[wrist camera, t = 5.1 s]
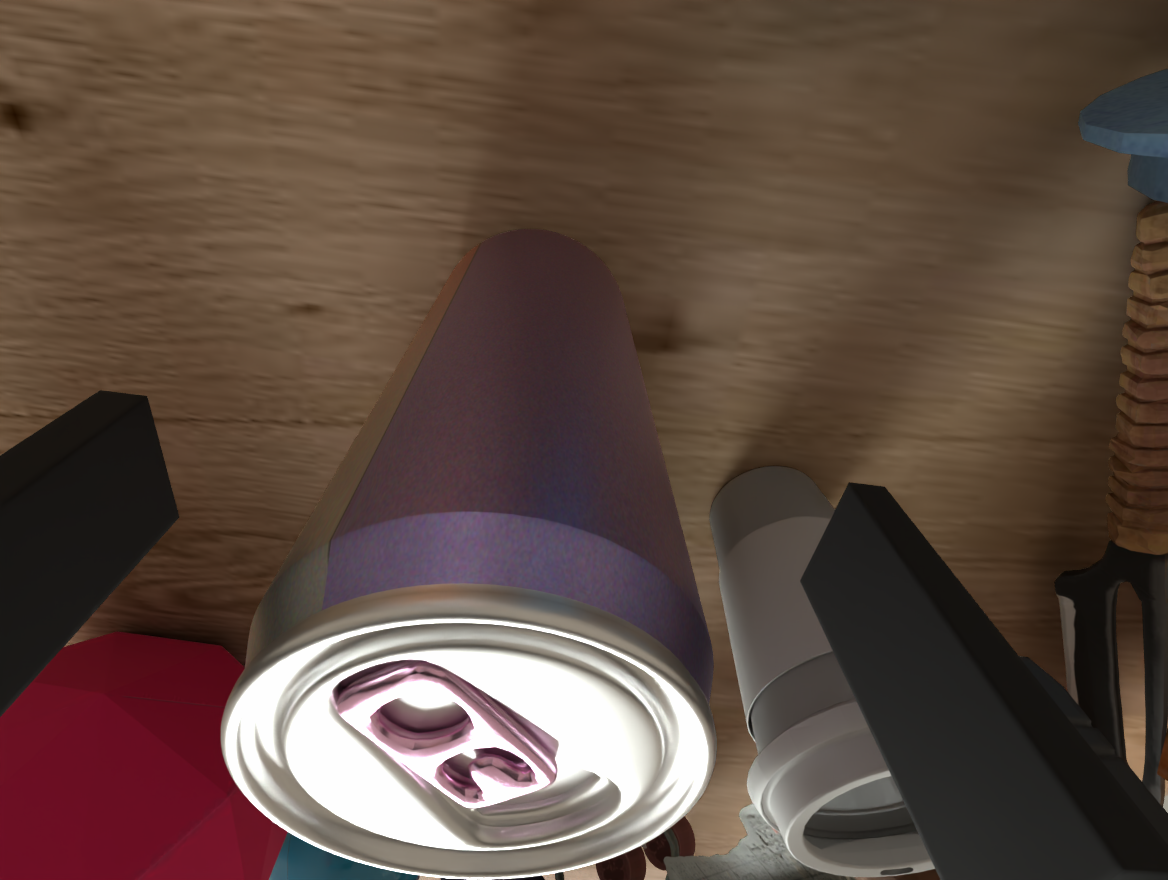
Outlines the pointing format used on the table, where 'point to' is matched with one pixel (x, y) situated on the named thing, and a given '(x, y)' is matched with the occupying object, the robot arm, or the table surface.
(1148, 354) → the throwing knife
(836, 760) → the cup
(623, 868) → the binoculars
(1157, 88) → the dumbbell
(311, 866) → the ball
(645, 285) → the table surface
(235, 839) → the decorative object
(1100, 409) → the table surface
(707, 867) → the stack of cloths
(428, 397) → the beverage can
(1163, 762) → the bread
